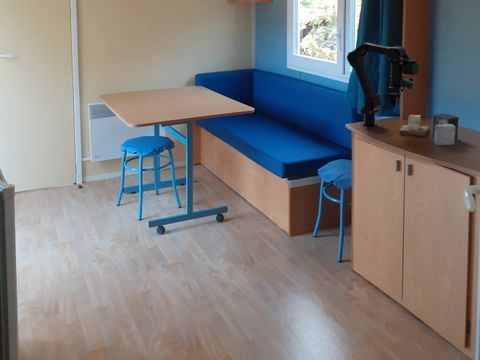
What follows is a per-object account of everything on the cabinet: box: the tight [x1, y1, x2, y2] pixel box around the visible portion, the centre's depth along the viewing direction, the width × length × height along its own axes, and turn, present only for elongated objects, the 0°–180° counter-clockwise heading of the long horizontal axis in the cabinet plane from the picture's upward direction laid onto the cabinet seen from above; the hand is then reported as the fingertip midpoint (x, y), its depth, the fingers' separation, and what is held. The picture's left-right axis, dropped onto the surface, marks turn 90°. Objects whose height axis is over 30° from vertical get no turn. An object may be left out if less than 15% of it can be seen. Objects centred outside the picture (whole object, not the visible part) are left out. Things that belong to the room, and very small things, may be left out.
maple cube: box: [407, 114, 422, 130], centre depth 305 cm, size 5×5×6 cm
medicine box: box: [433, 124, 456, 146], centre depth 282 cm, size 8×4×9 cm, turn 92°
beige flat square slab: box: [398, 124, 429, 137], centre depth 306 cm, size 12×12×2 cm
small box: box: [432, 113, 460, 140], centre depth 293 cm, size 11×6×10 cm, turn 23°
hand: (395, 105), depth 311 cm, fingers open, 9 cm apart
